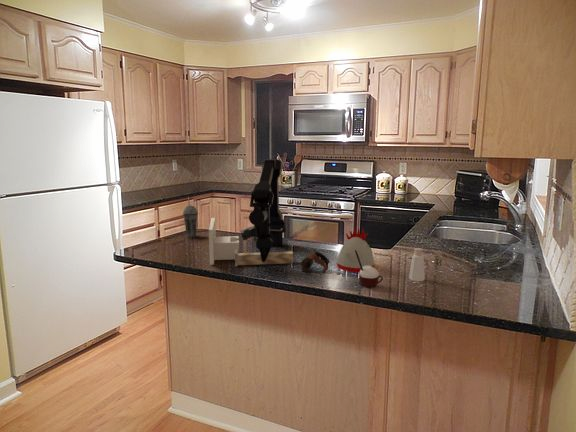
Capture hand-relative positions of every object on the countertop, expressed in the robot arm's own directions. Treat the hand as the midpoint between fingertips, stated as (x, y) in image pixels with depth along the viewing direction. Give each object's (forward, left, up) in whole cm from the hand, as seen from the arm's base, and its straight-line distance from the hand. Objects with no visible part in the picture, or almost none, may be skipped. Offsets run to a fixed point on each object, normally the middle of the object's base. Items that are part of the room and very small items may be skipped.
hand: (262, 259), depth 165 cm
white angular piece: (+14, -12, -2) cm, 18 cm away
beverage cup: (+32, -50, -2) cm, 59 cm away
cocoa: (-33, +30, -2) cm, 45 cm away
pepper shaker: (-52, +26, -2) cm, 58 cm away
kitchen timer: (-35, +9, -2) cm, 36 cm away
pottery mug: (-18, +13, -2) cm, 22 cm away
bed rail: (-1, 0, -2) cm, 2 cm away
